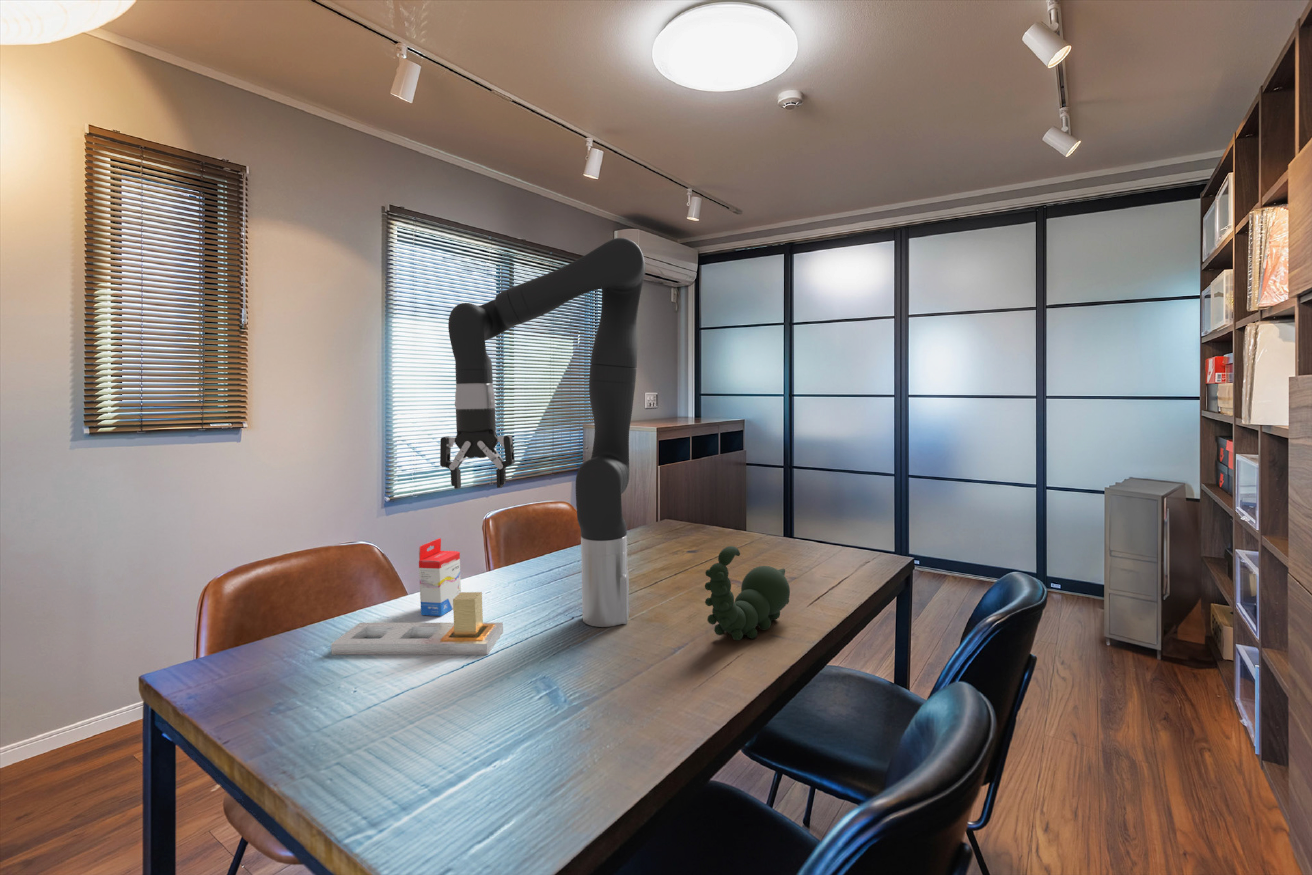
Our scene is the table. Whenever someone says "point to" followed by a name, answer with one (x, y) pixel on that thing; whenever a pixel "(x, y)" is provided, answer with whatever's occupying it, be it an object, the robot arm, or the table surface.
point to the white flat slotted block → (414, 640)
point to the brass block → (468, 615)
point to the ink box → (438, 578)
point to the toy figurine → (745, 597)
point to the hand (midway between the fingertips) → (478, 487)
